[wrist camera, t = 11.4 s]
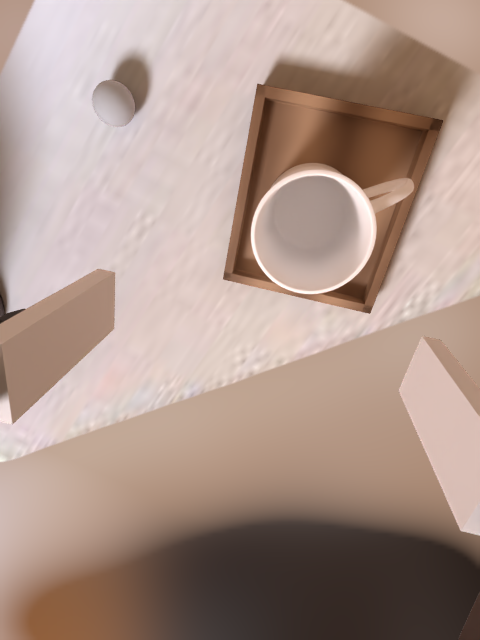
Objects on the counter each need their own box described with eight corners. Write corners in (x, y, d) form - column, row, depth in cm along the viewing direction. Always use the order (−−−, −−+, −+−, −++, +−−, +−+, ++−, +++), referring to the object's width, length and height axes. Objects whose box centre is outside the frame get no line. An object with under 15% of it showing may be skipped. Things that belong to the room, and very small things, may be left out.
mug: (384, 135, 31) (428, 122, 20) (399, 232, 34) (445, 267, 23) (253, 180, 34) (229, 190, 23) (277, 265, 37) (267, 310, 26)
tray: (227, 272, 39) (223, 279, 37) (260, 89, 32) (257, 83, 29) (366, 304, 38) (370, 313, 36) (433, 123, 31) (443, 120, 28)
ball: (104, 124, 35) (84, 120, 31) (105, 80, 33) (84, 72, 30) (140, 131, 34) (123, 129, 31) (142, 88, 33) (125, 80, 30)
